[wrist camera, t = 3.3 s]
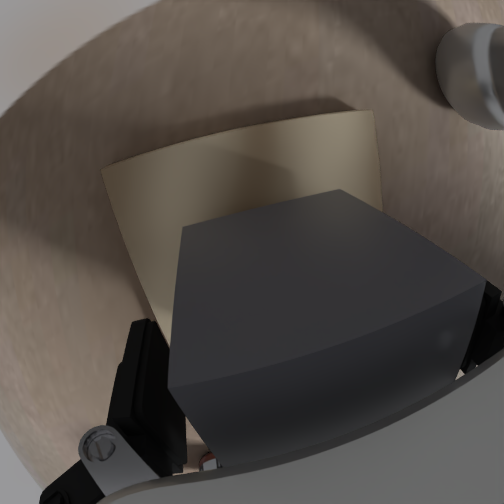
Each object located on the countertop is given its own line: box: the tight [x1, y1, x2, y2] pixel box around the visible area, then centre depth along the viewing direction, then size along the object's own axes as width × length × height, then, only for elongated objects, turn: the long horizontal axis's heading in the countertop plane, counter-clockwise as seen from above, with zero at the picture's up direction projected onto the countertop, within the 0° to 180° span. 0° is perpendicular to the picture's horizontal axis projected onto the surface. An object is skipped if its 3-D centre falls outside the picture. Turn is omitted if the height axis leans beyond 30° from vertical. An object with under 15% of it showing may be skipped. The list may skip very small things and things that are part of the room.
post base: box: [100, 110, 383, 346], centre depth 12 cm, size 12×12×8 cm
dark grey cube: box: [168, 189, 486, 467], centre depth 9 cm, size 6×7×8 cm
